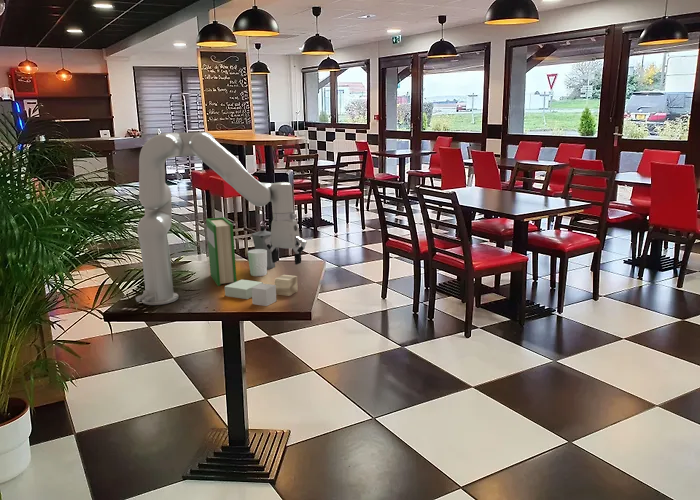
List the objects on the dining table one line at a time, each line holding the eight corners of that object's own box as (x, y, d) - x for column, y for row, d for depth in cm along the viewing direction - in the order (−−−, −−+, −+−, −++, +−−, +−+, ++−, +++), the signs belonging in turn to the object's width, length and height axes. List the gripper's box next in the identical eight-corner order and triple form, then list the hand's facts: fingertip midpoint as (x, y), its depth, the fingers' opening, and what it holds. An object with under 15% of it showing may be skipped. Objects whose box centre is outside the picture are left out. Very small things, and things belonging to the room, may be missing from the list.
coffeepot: (274, 270, 244) (272, 229, 240) (252, 271, 243) (250, 229, 239) (276, 261, 259) (274, 222, 255) (255, 262, 258) (253, 223, 254)
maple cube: (289, 296, 208) (288, 280, 207) (275, 294, 210) (274, 278, 209) (297, 291, 213) (297, 276, 212) (284, 289, 216) (283, 274, 214)
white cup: (251, 271, 242) (249, 249, 240) (269, 271, 242) (268, 248, 240) (247, 276, 235) (245, 253, 232) (266, 276, 234) (265, 253, 232)
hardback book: (236, 283, 225) (232, 223, 220) (217, 286, 222) (213, 225, 217) (228, 273, 241) (224, 217, 236) (210, 275, 238) (206, 218, 233)
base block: (247, 300, 205) (246, 289, 204) (225, 296, 210) (224, 286, 209) (263, 292, 214) (263, 282, 213) (242, 289, 218) (241, 279, 217)
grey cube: (266, 306, 197) (266, 289, 196) (252, 304, 199) (251, 287, 198) (276, 301, 202) (275, 285, 201) (262, 299, 205) (261, 283, 203)
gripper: (309, 215, 205) (312, 262, 209) (269, 214, 212) (272, 258, 216) (298, 219, 198) (301, 267, 202) (257, 217, 206) (261, 263, 210)
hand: (286, 262), depth 209 cm, fingers open, 9 cm apart
